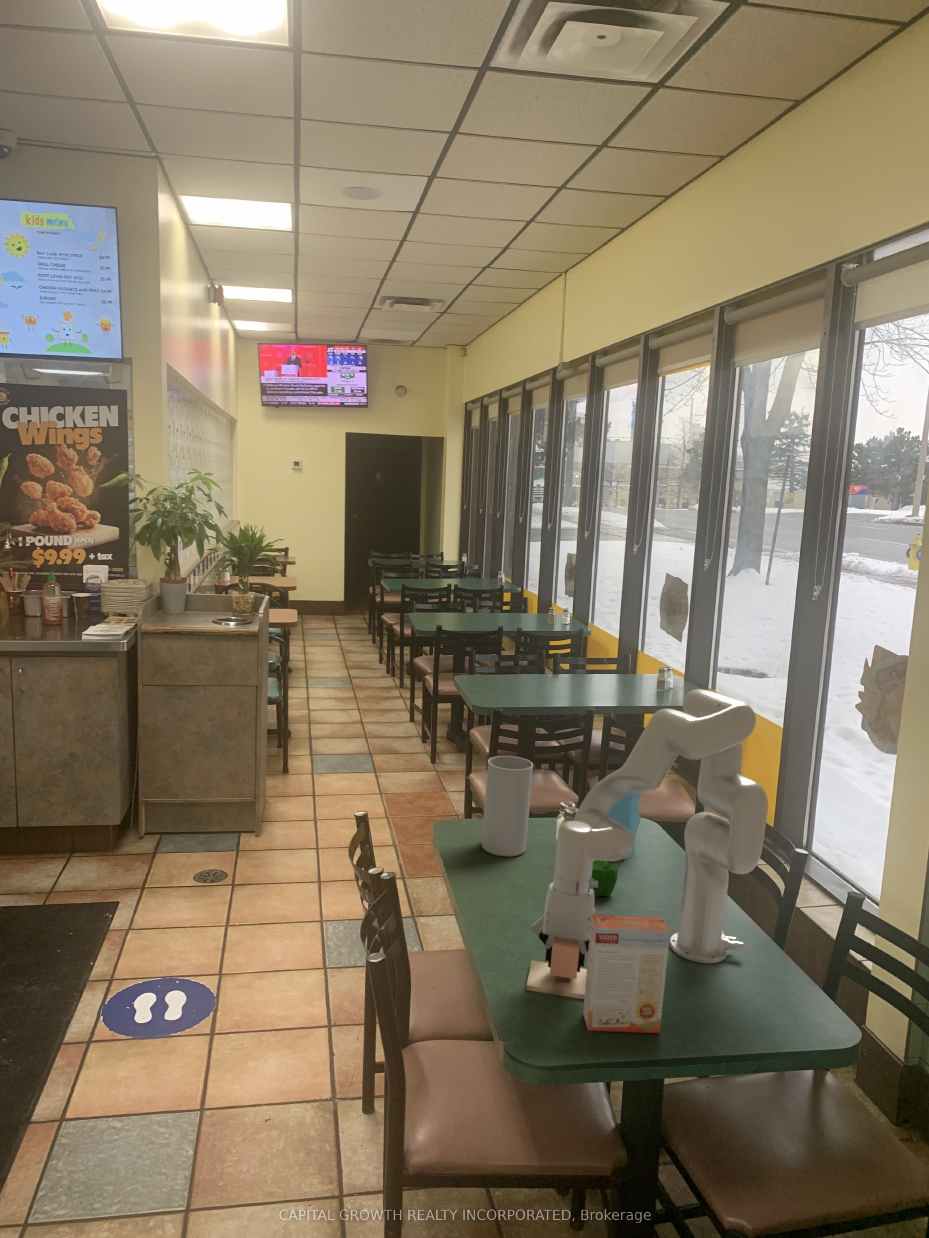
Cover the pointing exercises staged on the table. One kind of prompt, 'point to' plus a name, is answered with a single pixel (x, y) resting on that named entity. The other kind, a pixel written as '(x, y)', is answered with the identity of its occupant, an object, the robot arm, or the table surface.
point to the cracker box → (626, 973)
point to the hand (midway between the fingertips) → (564, 965)
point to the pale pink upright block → (564, 957)
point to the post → (555, 981)
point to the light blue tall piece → (627, 814)
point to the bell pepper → (604, 877)
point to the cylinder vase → (507, 805)
